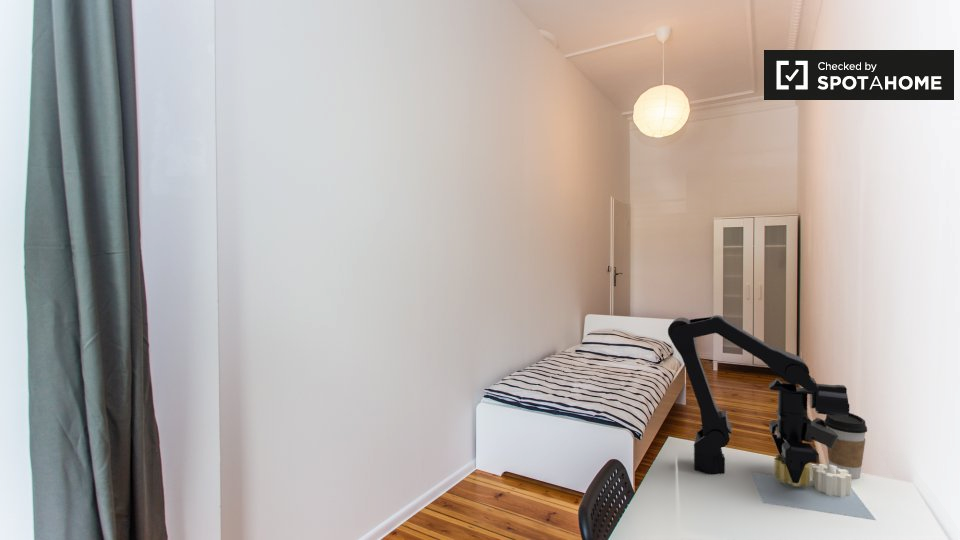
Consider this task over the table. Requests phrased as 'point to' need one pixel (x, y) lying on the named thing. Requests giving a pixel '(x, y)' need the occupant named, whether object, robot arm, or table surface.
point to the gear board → (809, 497)
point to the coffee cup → (847, 443)
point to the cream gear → (832, 481)
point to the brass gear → (784, 475)
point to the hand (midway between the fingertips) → (791, 475)
